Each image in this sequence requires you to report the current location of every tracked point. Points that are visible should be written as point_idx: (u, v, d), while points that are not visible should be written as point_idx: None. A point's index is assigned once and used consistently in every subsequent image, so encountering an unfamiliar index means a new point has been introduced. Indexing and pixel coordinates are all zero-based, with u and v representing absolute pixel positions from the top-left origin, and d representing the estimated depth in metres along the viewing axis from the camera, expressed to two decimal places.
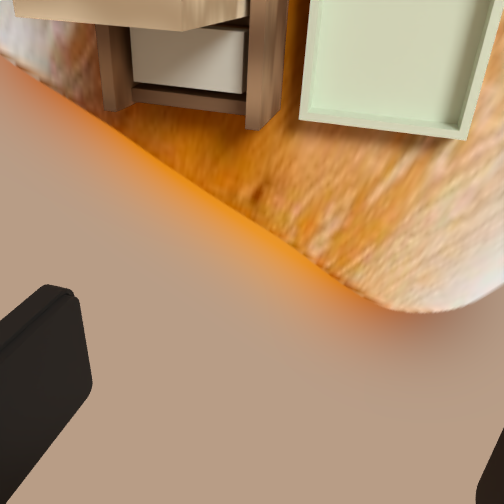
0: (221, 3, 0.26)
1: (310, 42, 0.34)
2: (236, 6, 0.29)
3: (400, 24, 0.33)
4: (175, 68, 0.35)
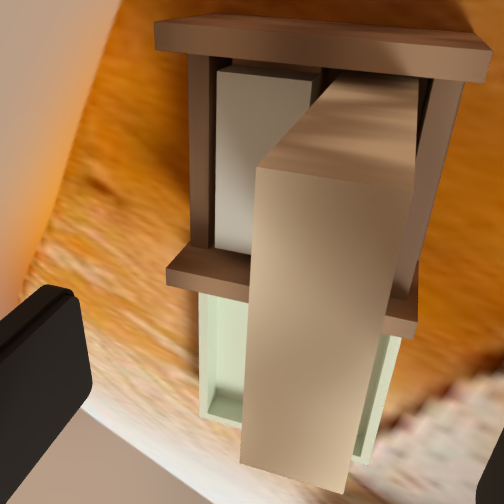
0: None
1: None
2: None
3: None
4: (242, 155, 0.21)
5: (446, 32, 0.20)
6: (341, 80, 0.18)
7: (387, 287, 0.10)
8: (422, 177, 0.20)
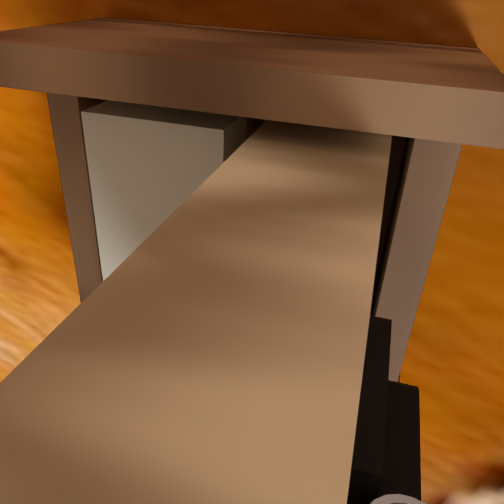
0: None
1: None
2: None
3: None
4: (133, 233, 0.14)
5: (436, 48, 0.13)
6: (264, 133, 0.11)
7: None
8: (400, 277, 0.13)
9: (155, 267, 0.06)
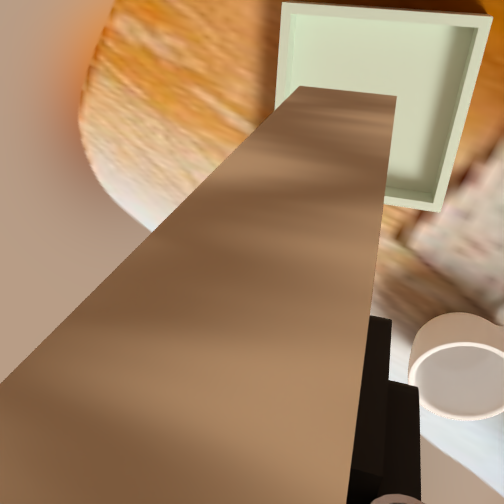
0: None
1: (371, 14, 0.28)
2: None
3: None
4: None
5: None
6: (268, 127, 0.11)
7: None
8: None
9: (169, 251, 0.06)
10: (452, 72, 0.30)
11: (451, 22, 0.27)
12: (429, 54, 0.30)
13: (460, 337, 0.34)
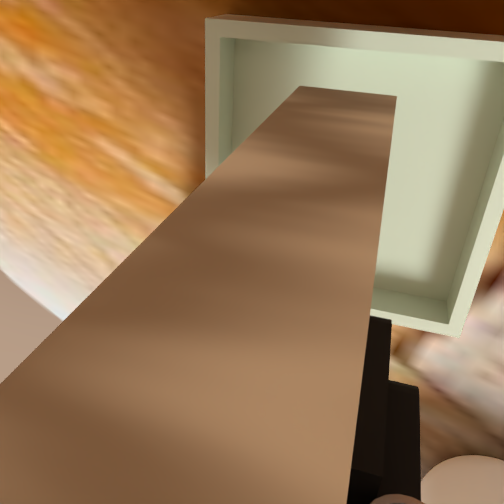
0: None
1: (349, 39, 0.17)
2: None
3: None
4: None
5: None
6: (269, 127, 0.11)
7: None
8: None
9: (169, 251, 0.06)
10: (482, 130, 0.19)
11: (485, 54, 0.16)
12: (445, 101, 0.19)
13: None
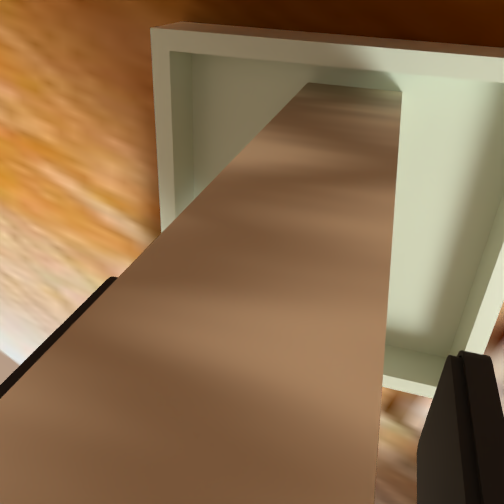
0: None
1: (327, 54, 0.14)
2: None
3: None
4: None
5: None
6: (282, 119, 0.12)
7: None
8: None
9: (201, 226, 0.07)
10: (491, 164, 0.15)
11: (497, 75, 0.13)
12: (446, 129, 0.15)
13: None
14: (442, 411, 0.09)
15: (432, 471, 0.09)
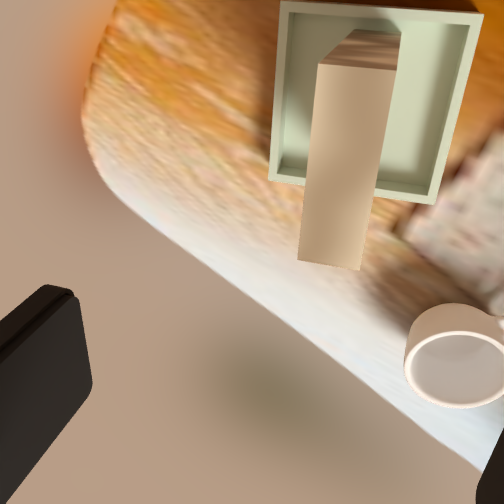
0: None
1: (367, 12, 0.29)
2: None
3: None
4: None
5: None
6: (350, 37, 0.27)
7: (384, 126, 0.19)
8: None
9: (341, 50, 0.22)
10: (445, 68, 0.31)
11: (444, 20, 0.28)
12: (423, 51, 0.31)
13: (454, 326, 0.35)
14: None
15: None
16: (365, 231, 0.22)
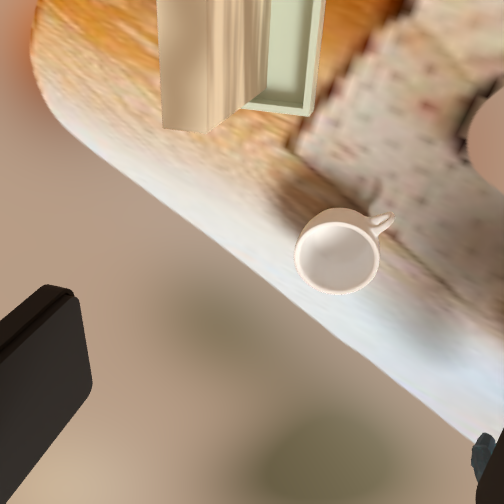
0: None
1: None
2: None
3: None
4: None
5: None
6: None
7: (205, 12, 0.27)
8: None
9: None
10: (309, 0, 0.39)
11: None
12: None
13: (328, 219, 0.43)
14: None
15: None
16: (205, 99, 0.29)
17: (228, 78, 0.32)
